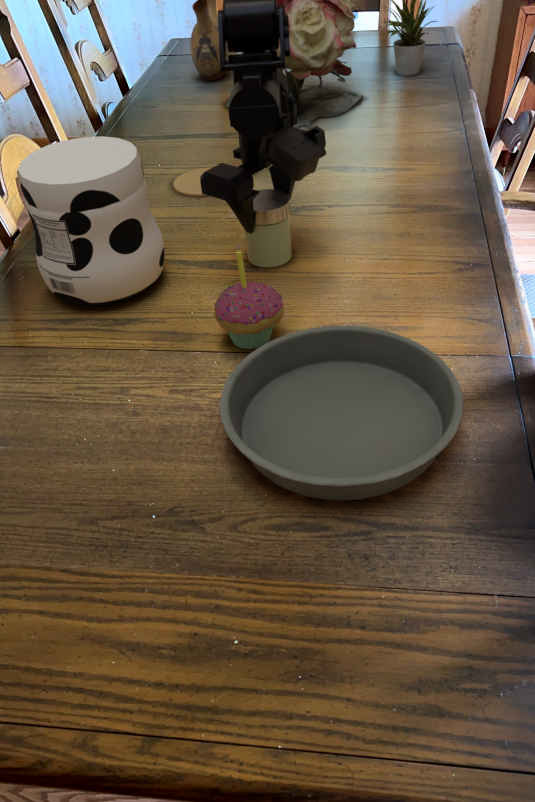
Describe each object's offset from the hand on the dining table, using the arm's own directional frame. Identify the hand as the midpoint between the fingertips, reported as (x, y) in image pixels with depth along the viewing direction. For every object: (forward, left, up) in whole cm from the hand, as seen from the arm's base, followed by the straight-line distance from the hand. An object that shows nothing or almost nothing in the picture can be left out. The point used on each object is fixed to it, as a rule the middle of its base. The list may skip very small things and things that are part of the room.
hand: (267, 221), depth 101 cm
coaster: (-14, -26, -6) cm, 30 cm away
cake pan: (+24, +29, -6) cm, 38 cm away
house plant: (-83, -27, -6) cm, 87 cm away
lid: (0, 0, +3) cm, 3 cm away
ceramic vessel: (-59, -65, -6) cm, 88 cm away
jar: (0, 0, -6) cm, 6 cm away
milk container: (+18, -15, -6) cm, 24 cm away
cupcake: (+17, +11, -6) cm, 21 cm away
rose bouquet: (-54, -35, -6) cm, 65 cm away
